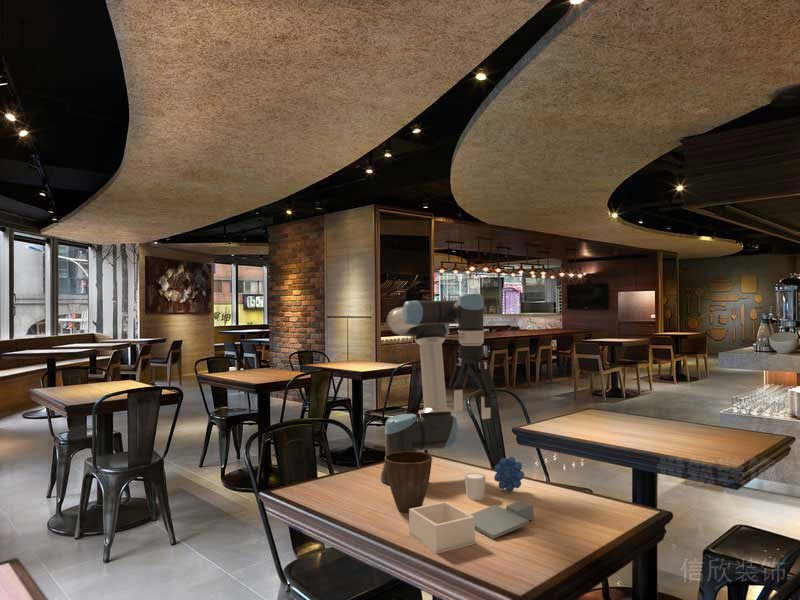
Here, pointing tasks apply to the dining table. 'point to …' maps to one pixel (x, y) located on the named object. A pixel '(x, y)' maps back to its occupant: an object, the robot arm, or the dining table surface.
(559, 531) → the dining table surface
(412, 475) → the plant pot
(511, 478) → the grapes
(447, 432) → the robot arm
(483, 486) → the beige cup
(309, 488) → the dining table surface
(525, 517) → the lid
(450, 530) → the tub
